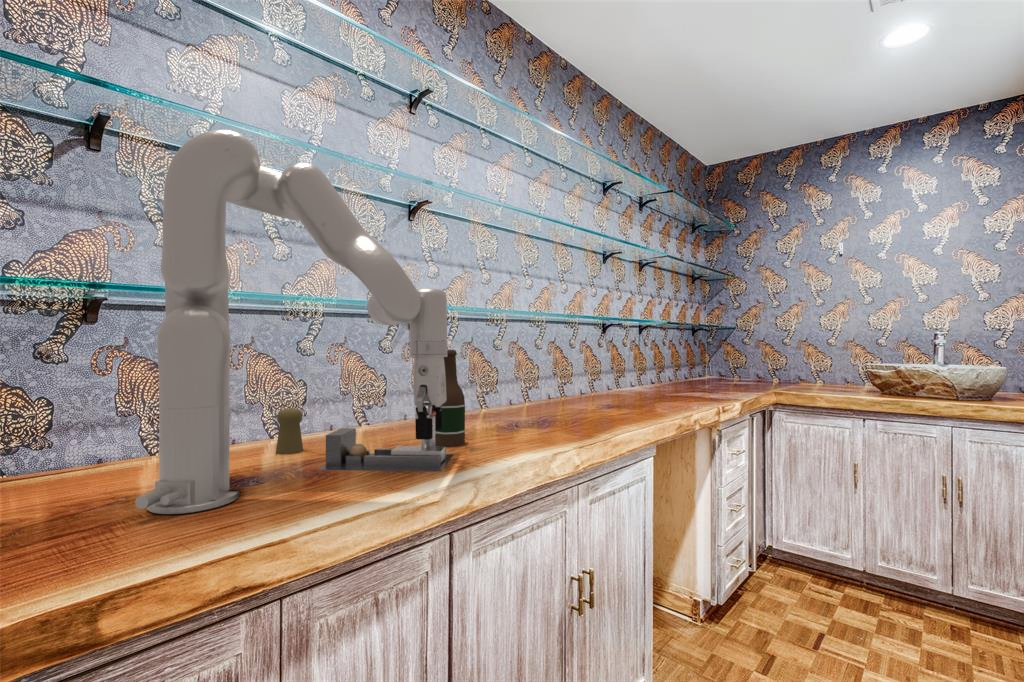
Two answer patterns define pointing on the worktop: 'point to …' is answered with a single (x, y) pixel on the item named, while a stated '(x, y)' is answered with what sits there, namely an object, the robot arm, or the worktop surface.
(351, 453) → the walnut
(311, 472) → the worktop surface
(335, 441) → the nutcracker base
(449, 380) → the beer bottle
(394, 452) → the grey and clear stand
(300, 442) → the cork
